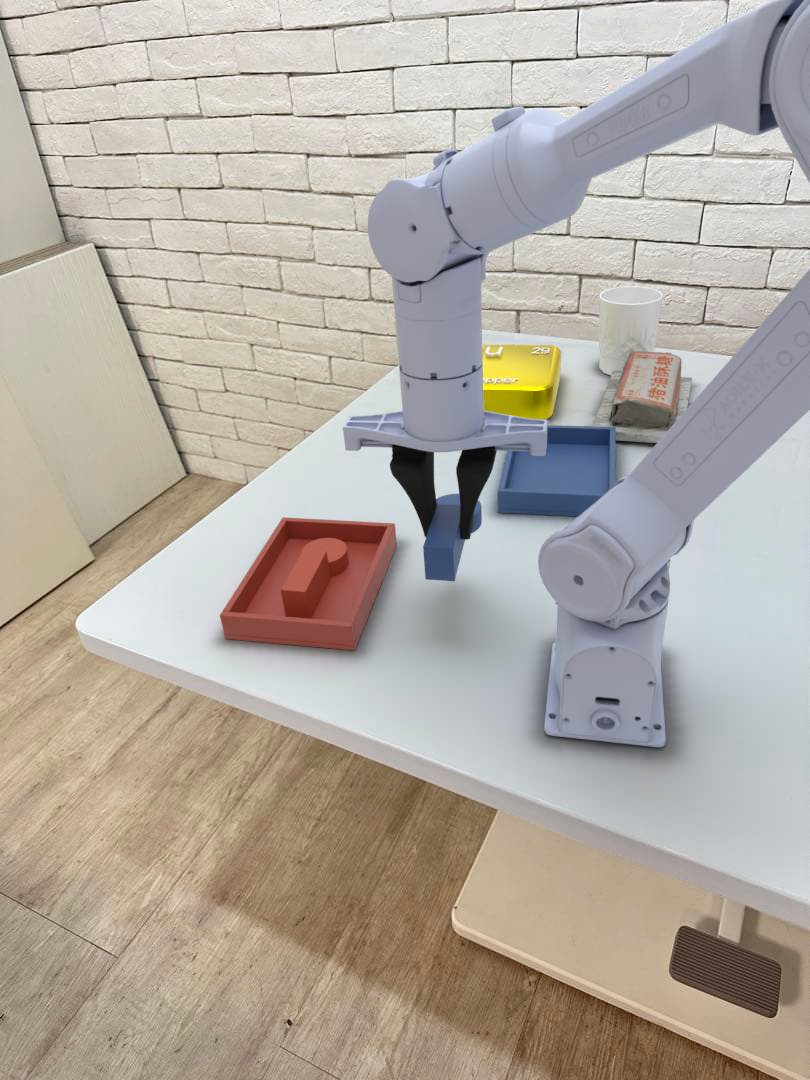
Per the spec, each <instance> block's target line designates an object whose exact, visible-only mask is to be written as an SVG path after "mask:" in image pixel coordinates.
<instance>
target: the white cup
mask: <svg viewBox="0 0 810 1080" xmlns="http://www.w3.org/2000/svg"><path fill="white" fill-rule="evenodd" d="M663 299H664V294H663V292H662V291H660V290H658V289H656V288H653V287H648V286H641V285H622V286H615V287H610V288H607V289H605V290H603V291H601V292H599V299H598V302H599V303H598V304H599V305H598V306H599V307H598V348H599V369H600V371H601V372H602V373H603V374H605V375H608V376H610V377H611V375H612V372H613V371H617V370H620V371H621V372H623V369H624V366H625V363H626V361H627V359H628V356H629V355H630V352H635V351H639V352H655V350H656V342H657V338H658V331H659V325H660V319H661V311H662V306H663V305H662V304H663Z"/></svg>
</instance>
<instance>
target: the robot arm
mask: <svg viewBox="0 0 810 1080" xmlns="http://www.w3.org/2000/svg"><path fill="white" fill-rule="evenodd" d="M491 124H492V125H491V126H492V128H493V131H492V132H491V133H489V134H488V135H486V136H484V137H483V138H481V139H479V140H477V141H475V142H473V143H472V144H471V145H468V146H467V147H465V148H464V149H461V150H460V151H458V150H457V149H456V148H449V149H446V150H443V151H442V152H440V153H438V154H437V155H435V156H434V157H433V158H432V163H433V165H434V167H433V168H432V169H431V170H430V171H429V173H425V174H422V175H417V176H415V177H411V178H407V177H402V178H401V177H399V178H394V179H390V180H389V181H388V182H387V183H386V184H385V186H384V187H383V188H382V189H381V190H380V191H379V192H378V193H377V194H376V195H375V196H374V198H373V200H372V201H371V204H370V206H369V210H368V215H367V234H368V240H369V244H370V248H371V250H372V252H373V255H374V257H375V258H376V261H377V262H378V263H379V265H380V266H381V267H382V269H383V270H384V271H385V272H386V273H387V274H388V275H389V276H391V286H392V287H391V288H392V297H393V310H394V321H395V322H394V323H395V333H396V346H397V359H398V360H397V361H398V372H399V382H400V383H399V384H400V396H401V407H402V410H399V411H392V412H391V411H390V412H385V413H376V414H367V415H366V414H365V415H349V416H348V418H347V419H346V421H345V423H344V424H343V426H342V433H343V442H344V448H345V451H347V452H348V451H351V452H359V451H360V450H361V449H362V448H391V451H392V453H391V460H390V463H389V468H390V472H391V475H392V477H393V478H394V479H395V480H396V481H397V483H398V484H399V485H400V486H401V488H402V489H403V490H404V492H405V493H406V495H407V497H408V498H409V500H410V502H411V504H412V506H413V508H414V510H415V512H416V514H417V516H418V519H419V522H420V525H421V528H422V531H423V536H424V537H425V538H426V536H427V533H428V530H429V527H430V524H431V521H432V518H433V515H434V512H435V509H436V506H437V502H436V499H437V495H436V487H435V453H453V452H461V453H460V455H459V457H458V461H457V464H456V468H455V469H456V470H455V474H456V479H457V480H456V481H457V486H458V494H459V496H460V536H461V539H465V540H470V539H471V536H472V533H471V532H472V528H473V518H474V511H475V507H476V504H477V501H478V500H479V499H480V497H481V495H482V492H483V490H484V488H485V486H486V484H487V483H488V480H489V478H490V476H491V473H492V472H493V469H494V466H495V465H494V464H495V461H496V456H497V453H498V451H501V452H503V451H504V452H507V451H530V455H532V456H545V455H546V448H547V426H548V425H549V424H548V422H549V421H548V420H549V419H545V420H544V419H529V418H522V417H516V416H511V415H505V414H499V413H494V412H488V411H484V400H483V361H482V345H483V318H482V316H483V315H482V284H483V281H485V280H486V263H487V258H488V255H489V254H490V253H491V252H493V251H495V250H497V249H500V248H502V247H505V246H506V245H509V244H511V243H513V242H515V241H519V240H520V239H523V238H525V237H528V236H529V235H532V234H534V233H536V232H539V231H541V230H543V229H546V228H549V227H550V226H553V225H555V224H558V223H560V222H562V221H564V220H566V219H569V218H571V217H572V216H574V215H575V214H576V213H577V211H579V209H580V208H581V206H582V204H583V202H584V201H585V198H586V195H587V192H588V190H589V187H590V183H591V182H592V180H593V179H594V178H596V177H599V176H601V175H603V174H605V173H608V172H610V171H612V170H614V169H617V168H619V167H621V166H624V165H626V164H628V163H630V162H634V161H635V160H638V159H640V158H643V157H644V156H647V155H649V154H651V153H655V152H657V151H659V150H661V149H662V148H665V147H668V146H670V145H673V144H675V143H677V142H679V141H682V140H684V139H686V138H688V137H692V136H693V135H695V134H698V133H701V132H702V131H705V130H707V129H709V128H712V127H715V126H716V125H721V126H724V127H728V128H729V129H733V130H735V131H738V132H741V133H744V134H746V135H751V136H760V135H763V134H765V133H768V132H770V131H773V130H776V129H779V130H780V132H781V135H782V137H783V139H784V141H785V142H786V144H787V146H788V148H789V150H790V151H791V153H792V155H793V157H794V158H795V160H796V162H797V164H798V165H799V167H800V168H801V171H802V173H803V174H804V177H805V178H806V180H807V181H808V183H809V184H810V0H771V1H769V2H766V3H764V4H762V5H760V6H758V7H756V8H754V9H752V10H750V11H747V12H746V13H744V14H742V15H740V16H738V17H735V18H733V19H731V20H728V22H725V23H724V24H722V25H720V26H718V27H717V28H715V29H713V30H711V31H710V32H709V33H707V34H705V35H703V36H701V37H700V38H699V39H697V40H695V41H694V42H692V43H690V44H689V45H687V46H686V47H684V48H682V49H681V50H679V51H677V52H676V53H674V54H672V55H670V56H669V57H667V58H666V59H664V60H662V61H661V62H659V63H657V64H656V65H654V66H653V67H651V68H649V69H648V70H646V71H644V72H643V73H641V74H639V75H638V76H635V78H633V79H631V80H630V81H628V82H626V83H625V84H623V85H621V86H620V87H618V88H616V89H614V90H613V91H611V92H610V93H608V94H606V95H604V96H603V97H601V98H600V99H598V100H596V101H595V102H594V103H592V104H590V105H588V106H586V107H585V108H583V109H582V110H580V111H579V112H577V113H575V114H573V115H572V116H570V117H569V118H568V117H565V116H563V115H561V114H559V113H557V112H555V111H552V110H550V109H546V108H541V107H536V108H532V109H530V110H527V111H526V109H525V107H524V106H522V105H520V106H516V107H511V108H507V109H505V110H503V111H502V112H500V113H498V114H497V115H495V116H494V117H492V119H491ZM809 411H810V268H809V269H808V270H807V272H805V274H804V275H803V276H801V278H800V280H798V281H797V282H796V284H795V285H794V286H793V288H791V290H790V291H789V292H788V293H787V294H786V295H785V296H784V298H783V299H782V300H781V301H780V302H779V304H778V305H777V306H776V307H775V308H774V309H773V310H772V311H771V312H770V314H769V315H768V316H767V317H766V318H765V319H764V320H763V321H762V323H761V324H760V325H759V326H758V327H757V328H756V329H755V331H754V332H753V333H752V334H750V336H749V337H748V339H747V340H746V341H745V342H744V343H743V344H742V345H741V347H740V348H739V349H738V350H737V351H736V352H735V353H734V355H733V356H732V357H731V358H730V359H729V360H728V361H727V363H725V365H724V366H723V367H722V368H721V369H720V371H719V372H718V373H717V374H716V375H715V376H714V377H713V379H712V380H711V381H710V382H709V383H708V384H707V386H706V387H705V388H704V389H703V390H702V391H701V392H700V394H699V395H697V397H696V398H695V399H694V400H693V401H692V403H690V405H688V408H687V410H686V411H685V412H684V413H683V414H682V415H681V416H680V418H679V419H678V420H677V421H676V422H675V423H674V424H673V426H672V427H671V428H670V429H669V430H668V431H667V432H666V433H665V435H664V436H663V437H662V438H661V439H660V440H659V441H658V443H655V445H654V446H653V447H652V448H651V449H650V451H648V453H647V454H646V455H645V456H644V457H643V458H642V459H641V461H639V463H638V464H637V465H636V466H635V467H634V468H633V470H632V471H631V472H630V473H629V474H628V475H625V476H623V477H621V478H619V479H618V480H616V481H615V483H614V484H613V485H612V486H611V487H610V488H609V489H608V491H607V493H606V494H605V495H603V496H602V497H601V498H600V499H599V500H597V501H596V502H595V503H594V504H593V505H591V506H590V507H589V508H588V509H587V510H585V511H584V512H583V513H582V514H581V515H579V516H578V517H577V516H576V518H575V519H573V520H572V521H571V522H570V523H569V524H567V525H566V526H565V527H564V528H562V529H561V530H559V531H556V532H554V533H553V534H551V535H550V536H549V537H548V538H547V539H545V541H544V542H543V544H542V546H541V547H540V549H539V552H538V553H539V554H538V559H537V563H538V564H537V565H538V572H539V575H540V578H541V582H542V583H543V585H544V587H545V589H546V591H547V593H548V594H549V596H550V597H552V599H553V600H554V601H555V605H556V606H557V607H556V608H557V610H556V633H555V635H556V636H555V641H554V642H553V643H552V645H551V652H550V653H551V654H550V664H549V665H550V666H549V675H548V683H547V692H546V693H547V694H546V704H545V714H544V724H543V731H544V733H545V734H546V735H548V736H551V737H552V736H553V737H561V738H568V739H569V738H570V739H577V740H578V739H580V740H587V741H597V742H607V743H615V744H626V745H634V746H641V747H642V746H643V747H651V748H663V747H664V746H665V745H666V739H667V738H666V737H667V736H666V721H665V720H666V719H665V709H664V693H663V691H664V690H663V678H662V676H663V675H662V662H661V661H662V659H661V658H662V651H663V644H664V637H665V629H666V622H667V615H668V608H669V599H670V593H671V578H670V564H671V559H672V558H673V557H674V556H676V555H678V554H679V553H680V552H681V551H682V550H683V549H684V548H685V547H686V546H687V544H688V543H689V541H690V539H691V538H692V533H693V528H694V523H695V521H696V519H697V518H698V517H699V516H700V515H701V514H702V513H703V512H704V511H705V510H706V509H707V508H708V507H709V506H710V505H711V504H713V503H714V502H715V501H716V500H717V499H718V498H719V497H720V496H721V495H722V494H723V493H724V492H726V490H727V489H728V488H730V486H731V485H732V484H733V483H735V482H736V481H737V480H738V479H739V478H740V477H741V476H742V475H743V474H744V473H745V472H746V471H747V470H748V469H749V468H750V467H751V466H752V465H754V463H756V462H757V461H758V460H759V459H760V458H761V457H762V456H763V455H764V454H765V453H766V452H767V451H769V449H771V447H773V446H774V445H775V443H777V442H778V441H779V440H780V439H781V438H782V437H783V436H784V435H785V434H786V433H787V432H788V431H790V430H791V428H792V427H793V426H794V425H796V424H797V422H799V421H800V420H801V419H802V418H803V417H804V416H805V415H806V414H807V413H808V412H809Z"/></svg>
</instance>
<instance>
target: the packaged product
mask: <svg viewBox="0 0 810 1080" xmlns="http://www.w3.org/2000/svg"><path fill="white" fill-rule="evenodd" d="M692 378H693V377H687V376H686V377H685V376H682V358H681V357H680V356H678V355H675V354H673V353H672V352H668V351H666V352H662V351H653V352H639V351H635V352H630V355H629V356H628V359H627V361H626V363H625V366H624V369H623V372H621V371H620V370H617V371H613V372H612V375H611V376H610V378H609V381H608V383H607V386H606V388H605V391H604V393H603V396H602V399H601V401H600V405H599V407H598V410H597V411H596V415H595V417H594V420H593V423H592V426H598V427H616V440H615V441H621V442H636V443H651V444H652V443H653V444H657V443H658V441H659V440H660V439H661V438H662V437H663V436H664V435H665V433H666V432H667V431H668V430H669V429H670V428H671V427H672V426H673V424H674V423H675V422H676V421H677V420H678V419H679V418H680V416H681V415H682V414H683V413H684V412H685V411H686V410H687V408H688V407H689V398H690V395H691V388H692V382H693V379H692Z"/></svg>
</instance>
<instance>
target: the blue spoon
mask: <svg viewBox="0 0 810 1080" xmlns="http://www.w3.org/2000/svg"><path fill="white" fill-rule="evenodd" d="M436 502H437V506H436V509H435V512H434V515H433V518H432V521H431V524H430V527H429V530H428V533H427V536H426V537H425V540H424V543H423V545H422V551H423V563H424V578H425V580H429V581H440V582H441V581H443V582H455V581H456V578H457V574H458V569H459V565H460V562H461V557H462V554H463V549H464V546H465V542H466V539H461V536H460V496H459V493H450V494H445V495H441V496H438V497H436ZM482 512H483V511H482V503H481V501H480V500H479V499H478V501H477V504H476V507H475V511H474V518H473V528H472V532H471V534H473V533H476V532H477V531H478V530H479V529H480V528H481V526H482V522H483V518H482V517H483V515H482V514H483V513H482Z"/></svg>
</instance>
